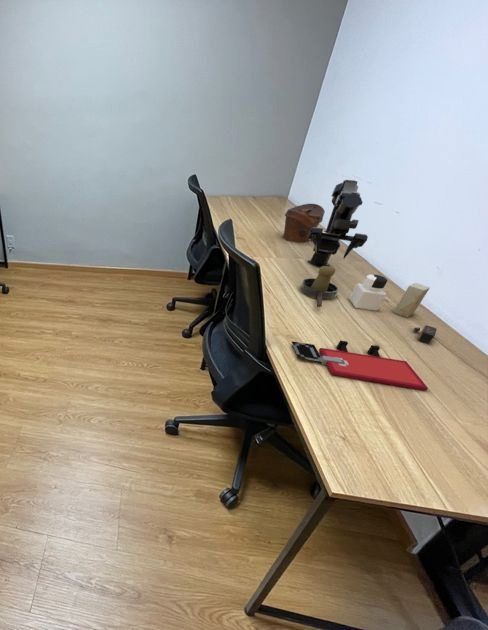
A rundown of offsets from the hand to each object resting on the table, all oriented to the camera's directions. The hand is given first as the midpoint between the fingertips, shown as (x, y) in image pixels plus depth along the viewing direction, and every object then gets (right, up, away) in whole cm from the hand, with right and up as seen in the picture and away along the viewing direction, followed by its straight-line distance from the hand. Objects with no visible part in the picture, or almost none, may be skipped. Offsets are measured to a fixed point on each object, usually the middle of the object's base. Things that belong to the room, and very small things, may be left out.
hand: (330, 255), depth 136 cm
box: (+18, -23, -11) cm, 31 cm away
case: (+23, +19, +55) cm, 63 cm away
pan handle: (-10, -19, -8) cm, 23 cm away
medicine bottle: (+7, -20, -6) cm, 22 cm away
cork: (-4, -15, +2) cm, 15 cm away
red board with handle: (-21, -39, -35) cm, 56 cm away
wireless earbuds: (+12, -31, -24) cm, 41 cm away
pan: (-4, -15, +2) cm, 15 cm away
